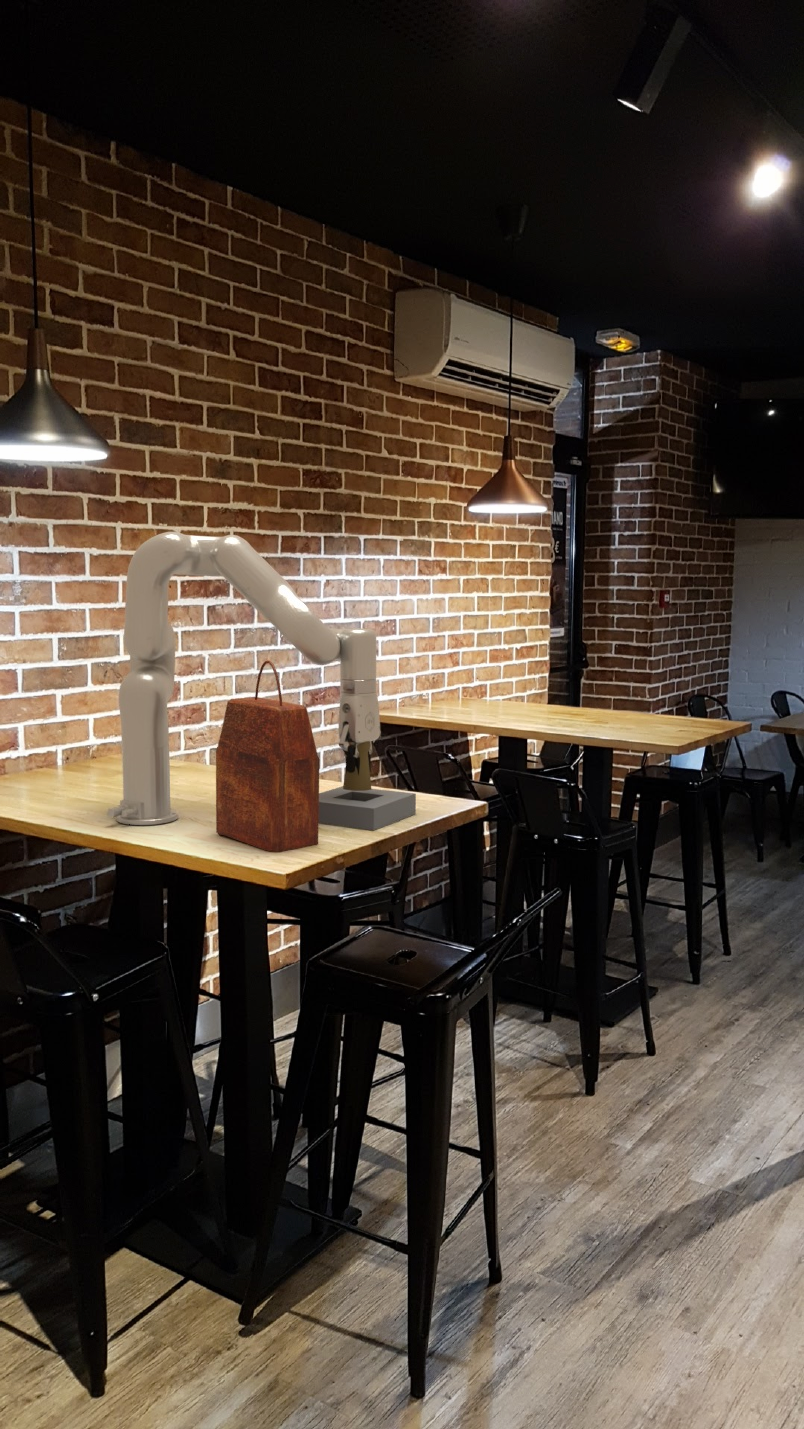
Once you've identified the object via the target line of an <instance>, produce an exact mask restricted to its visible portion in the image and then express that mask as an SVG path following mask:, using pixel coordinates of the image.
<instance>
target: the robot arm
mask: <svg viewBox="0 0 804 1429" xmlns="http://www.w3.org/2000/svg"><path fill="white" fill-rule="evenodd" d="M174 575H179V576H197V577H199V576H201V577H223V578H224V580H226V581H227V582H228V583H229V585H231V586H232V587H233V588H234V589H235V590H236V591H237V592H238V593H239V594H240V595H241V596H242V597H243V598H244V599H245V600H246V601H247V602H248V603H249V604H250V605H251V606H252V607H253V608H254V609H255V610H256V611H257V612H259V614H260V615H261V616H262V617H263V618H264V619H265V620H266V621H268V622H269V623H270V624H271V625H272V626H274V628H275V629H277V630H278V632H280V633H281V635H283V636H284V638H285V639H286V640H287V641H288V642H290V644H291V645H293V647H295V648H296V649H297V650H298V651H299V652H300V654H302V656H304V657H305V658H306V659H307V660H308V661H309V662H310V663H312V664H314V665H317V666H326V665H329V664H331V663H333V662H335V661H339V662H340V664H339V665H340V666H339V667H340V668H339V671H340V673H339V674H340V675H339V676H340V677H339V678H340V683H339V685H340V690H339V693H340V700H339V708H338V709H339V710H338V726H337V727H338V729H337V730H338V738H339V742H338V746H339V748H341V749H342V751H343V752H344V753H343V754H344V757H345V772H346V774H347V771H348V772H349V773H353V772H354V771H355V766H356V768H357V771H358V775H359V770H360V757H358V752H359V751H358V745H359V743H364V742H369V741H370V743H371V747H370V750H369V752H368V760H369V770H370V773H371V769H372V768H371V766H372V764H371V762H372V761H371V760H372V758H371V757H372V753H373V747H374V743H375V741H376V740H377V739H379V737H380V735H381V721H380V707H379V699H378V698H379V697H378V695H377V634H376V632H375V630H373V629H371V628H364V627H363V628H362V627H361V628H358V627H357V628H356V627H355V628H345V629H341V628H332V627H329V626H327V625H326V624H325V623H324V622H323V621H322V620H321V619H319V618H320V617H318V616H317V615H316V614H315V613H314V612H313V611H312V610H311V609H310V608H309V607H308V606H307V605H306V604H305V603H304V602H303V600H301V599H302V598H300V596H298V594H297V592H295V590H294V588H293V587H292V586H291V584H290V583H288V581H287V580H286V579H285V578H284V577H283V576H281V574H280V573H279V572H278V571H277V570H276V569H274V568H273V567H272V566H271V565H270V563H268V561H267V560H266V559H264V558H263V556H261V554H259V553H258V551H257V550H255V549H254V547H253V546H252V545H251V544H250V543H249V542H248V541H247V540H246V539H244V538H243V537H241V536H239V535H238V534H237V535H236V534H228V535H224V536H209V535H208V536H207V535H193V534H192V535H190V534H184V533H181V532H178V531H166V532H162V533H159V534H157V535H154V536H152V537H150V538H148V539H147V540H146V541H144V542H143V543H141V545H139V547H138V548H136V550H135V552H134V553H133V555H132V557H131V559H130V562H129V565H128V568H127V575H126V587H125V603H124V604H125V605H124V625H123V626H124V628H123V629H124V630H123V646H124V648H125V650H126V652H127V654H128V655H129V673H128V674H126V675H125V677H124V678H123V679H122V681H121V683H120V686H119V690H118V707H119V708H118V709H119V717H120V729H121V731H120V732H121V754H122V755H121V757H122V758H121V759H122V790H123V791H122V794H123V796H122V797H123V799H121V800H120V801H119V805H118V806H114V807H111V808H108V809H107V811H106V813H107V816H108V817H109V818H110V819H113V818H115V820H116V822H118V823H120V824H124V825H129V824H130V825H132V826H153V825H161V824H166V823H171V822H174V821H176V820H177V819H178V818H179V812H178V811H177V810H176V809H172V808H171V778H170V777H171V772H170V768H171V767H170V736H169V735H170V734H169V733H170V730H169V714H168V702H169V701H171V699H172V696H173V694H174V690H175V675H176V674H175V673H176V672H175V671H176V670H175V668H176V664H175V663H176V634H175V631H174V627H173V625H172V624H171V622H169V616H168V615H169V614H168V613H169V610H168V609H169V599H170V598H169V596H170V595H169V584H170V580H171V578H172V576H174ZM349 739H352V741H355V742H349ZM350 745H354V749H353V747H352V746H350Z"/></svg>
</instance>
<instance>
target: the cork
mask: <svg viewBox="0 0 804 1429" xmlns="http://www.w3.org/2000/svg"><path fill="white" fill-rule="evenodd" d="M349 742H355V741H352V739H349ZM350 746H352V747H353V749H354V745H350ZM370 747H371V743H370V741H369V742H364V743H359V745H358V751H359V752H358V757H360V770H359V775H358V771H357V768H356V766H355V771H354V772H353V773H349V772H348V771H347V774H346V771H345V772H344V778H343V789H345V790H351V791H366V790H371V789H372V780H371V772H370V770H369V760H368V752H369V750H370Z"/></svg>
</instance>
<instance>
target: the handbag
mask: <svg viewBox="0 0 804 1429" xmlns="http://www.w3.org/2000/svg"><path fill="white" fill-rule="evenodd" d="M267 664H269V665H270V667H271V668H272V670H273V674H274V676H275V681H276V686H277V692H278V699H279V700H275V699H269V698H264V697H259V696H258V695H259V688H260V682H261V677H262V673H263V670H264V667H265V666H266V665H267ZM255 686H256V687H255V693H254V694H255V696H254V697H241V698H239V697H238V698H231V699H230V700H229V699H228V701H227V703H226V706H225V707H226V709H225V713H224V717H223V722H222V726H221V731H220V735H219V740H218V744H217V746H216V749H215V803H216V804H215V807H216V808H215V812H216V813H215V815H216V816H215V817H216V818H215V827H216V829H215V833H216V834H218V835H219V836H224V837H225V836H226V837H227V838H230V839H234V840H237V841H240V842H242V843H245V844H248V845H251V846H253V847H256V848H258V849H262V850H265V851H267V852H275V853H280V852H285V851H290V850H294V849H295V850H296V849H300V848H305V847H310V846H317V845H319V824H320V823H319V793H320V761H321V760H320V757H319V754H318V751H317V747H316V742H315V737H314V734H313V733H314V732H313V729H312V725H311V722H310V721H311V720H310V717H309V716H310V715H309V713H308V708H307V707H306V706H305V705H303V704H298V703H292V702H291V703H290V702H286V701H283V696H282V690H281V684H280V679H279V675H278V672H277V669H276V667H275V664H273V662H272V661H271V660H264V662H263V663H262V665H261V666H260V669H259V672H258V675H257V681H256V685H255Z"/></svg>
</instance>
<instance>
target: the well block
mask: <svg viewBox="0 0 804 1429" xmlns="http://www.w3.org/2000/svg"><path fill="white" fill-rule="evenodd" d="M416 798H417V795H416V793H415V792H414V793H413V792H406V791H405V792H404V791H395V790H385V789H377V788H371V790H366V791H351V790H345V789H343V786H340V787H335V788H332V789H328V790H326V791H321V792H319V824H321V825H329V826H337V827H344V828H352V829H358V830H366V831H377V830H378V829H381V827H382V828H384V827H386V826H389V825H392V824H393V823H397V822H399V821H402V820H404V818H405V819H407V818H410V817H412V816H414V815H416V814H417V812H416V811H417V808H416V805H417V804H416V803H417V800H416ZM411 815H412V816H411Z"/></svg>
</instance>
